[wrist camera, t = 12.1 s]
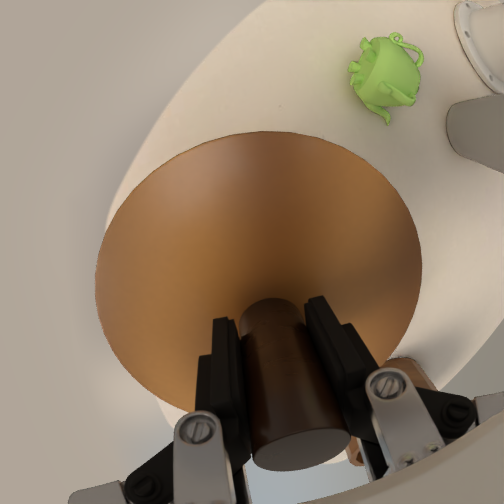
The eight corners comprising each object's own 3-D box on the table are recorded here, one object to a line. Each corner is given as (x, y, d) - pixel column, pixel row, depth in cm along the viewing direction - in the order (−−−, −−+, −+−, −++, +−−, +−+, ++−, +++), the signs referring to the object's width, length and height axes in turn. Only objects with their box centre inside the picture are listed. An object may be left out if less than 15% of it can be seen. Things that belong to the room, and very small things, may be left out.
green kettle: (387, 126, 19) (429, 125, 14) (331, 99, 18) (365, 86, 13) (401, 67, 17) (442, 55, 12) (348, 38, 16) (382, 15, 11)
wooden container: (427, 344, 29) (461, 386, 21) (408, 402, 34) (430, 439, 27) (333, 378, 29) (356, 434, 21) (331, 431, 34) (346, 475, 26)
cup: (451, 79, 18) (514, 73, 10) (497, 141, 20) (551, 152, 12) (428, 133, 20) (497, 140, 12) (477, 192, 22) (534, 214, 14)
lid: (403, 118, 10) (545, 124, 3) (394, 370, 15) (444, 452, 8) (61, 187, 9) (-69, 249, 3) (170, 419, 15) (161, 517, 8)
